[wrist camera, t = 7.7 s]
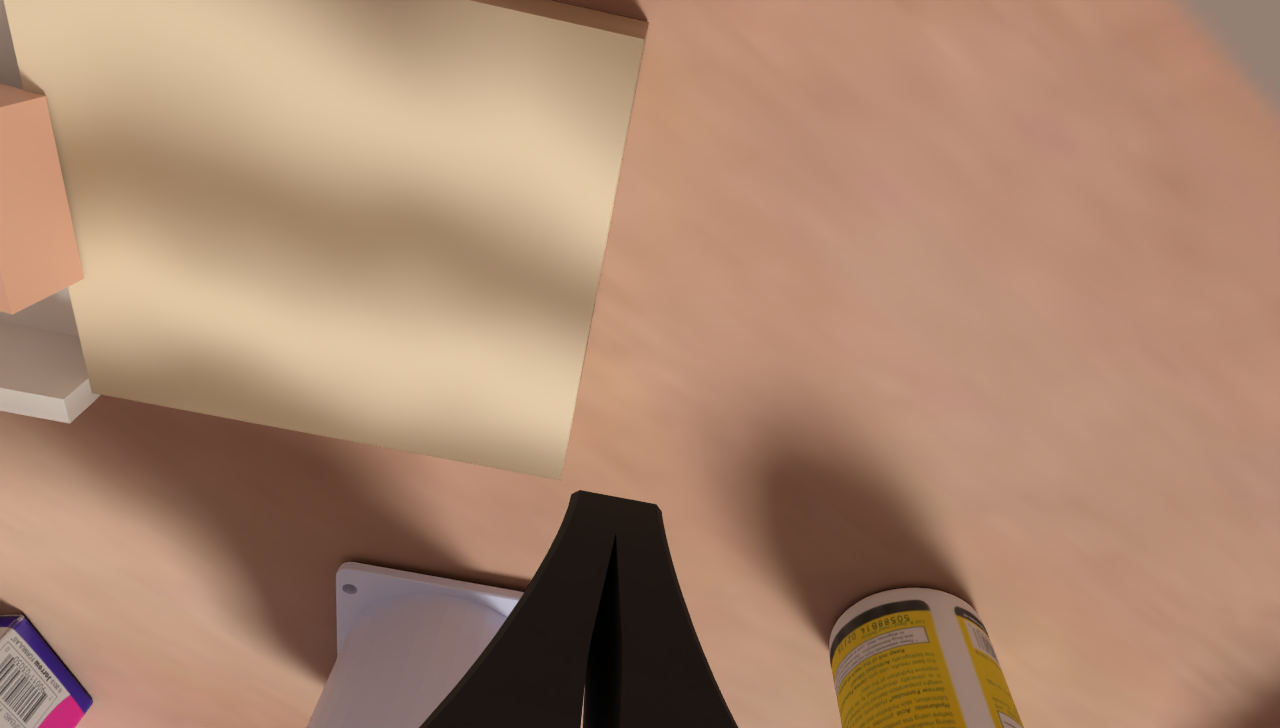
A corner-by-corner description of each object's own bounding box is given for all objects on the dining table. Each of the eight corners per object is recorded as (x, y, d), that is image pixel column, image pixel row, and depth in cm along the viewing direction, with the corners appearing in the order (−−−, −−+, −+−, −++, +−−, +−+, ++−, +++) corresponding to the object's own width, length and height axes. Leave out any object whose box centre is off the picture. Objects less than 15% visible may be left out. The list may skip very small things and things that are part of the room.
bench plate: (569, 436, 24) (560, 480, 22) (135, 354, 23) (92, 392, 21) (648, 22, 17) (644, 39, 16) (49, -113, 17) (-22, -110, 15)
